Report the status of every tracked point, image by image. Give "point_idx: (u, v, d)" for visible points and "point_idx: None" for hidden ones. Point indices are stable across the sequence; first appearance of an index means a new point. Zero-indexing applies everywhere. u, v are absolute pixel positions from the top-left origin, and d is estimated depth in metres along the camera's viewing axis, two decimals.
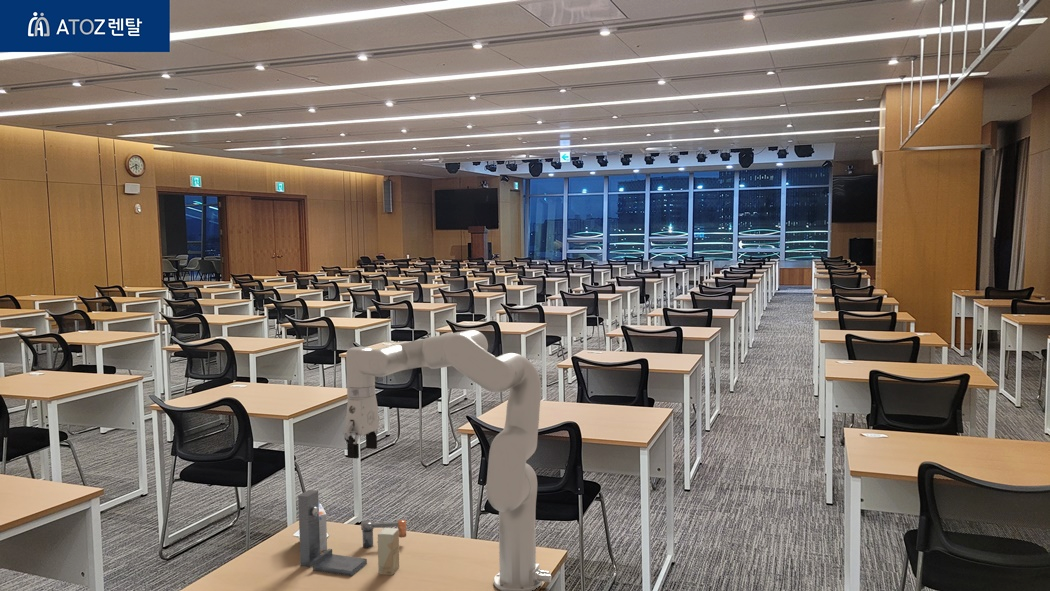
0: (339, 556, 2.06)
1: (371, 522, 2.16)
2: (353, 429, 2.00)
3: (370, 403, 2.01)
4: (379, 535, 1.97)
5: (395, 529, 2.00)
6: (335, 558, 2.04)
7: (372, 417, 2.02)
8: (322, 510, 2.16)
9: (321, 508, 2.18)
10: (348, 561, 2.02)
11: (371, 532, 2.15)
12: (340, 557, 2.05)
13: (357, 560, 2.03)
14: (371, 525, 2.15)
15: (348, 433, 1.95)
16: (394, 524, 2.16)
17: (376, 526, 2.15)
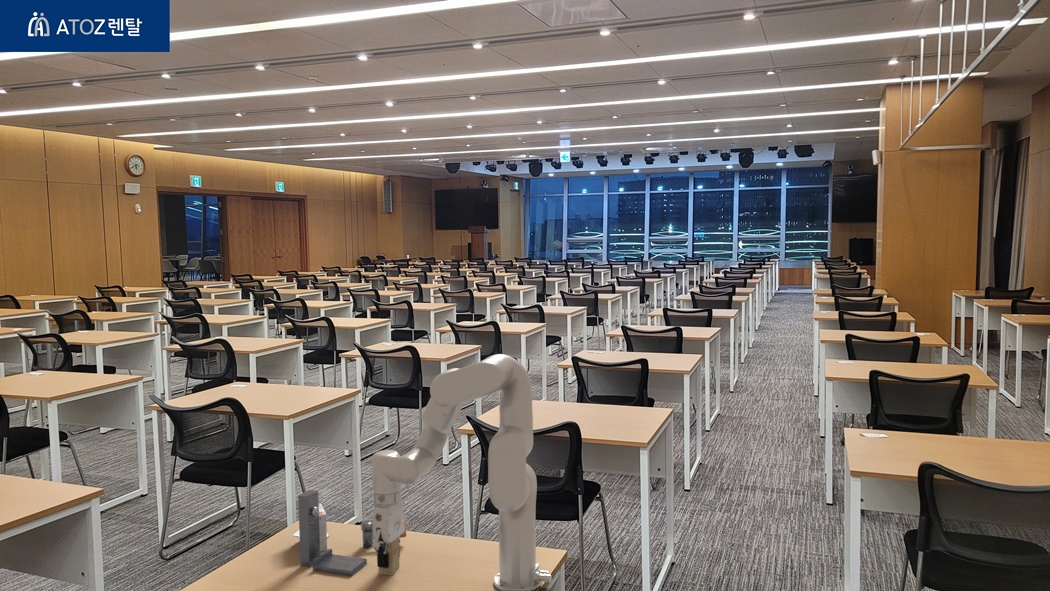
0: (339, 556, 2.06)
1: (371, 522, 2.16)
2: (380, 537, 1.96)
3: (396, 509, 1.97)
4: None
5: None
6: (335, 558, 2.04)
7: (398, 522, 1.99)
8: (322, 510, 2.16)
9: (321, 508, 2.18)
10: (348, 561, 2.02)
11: (371, 532, 2.15)
12: (340, 557, 2.05)
13: (357, 560, 2.03)
14: (371, 525, 2.15)
15: (378, 546, 1.92)
16: None
17: None
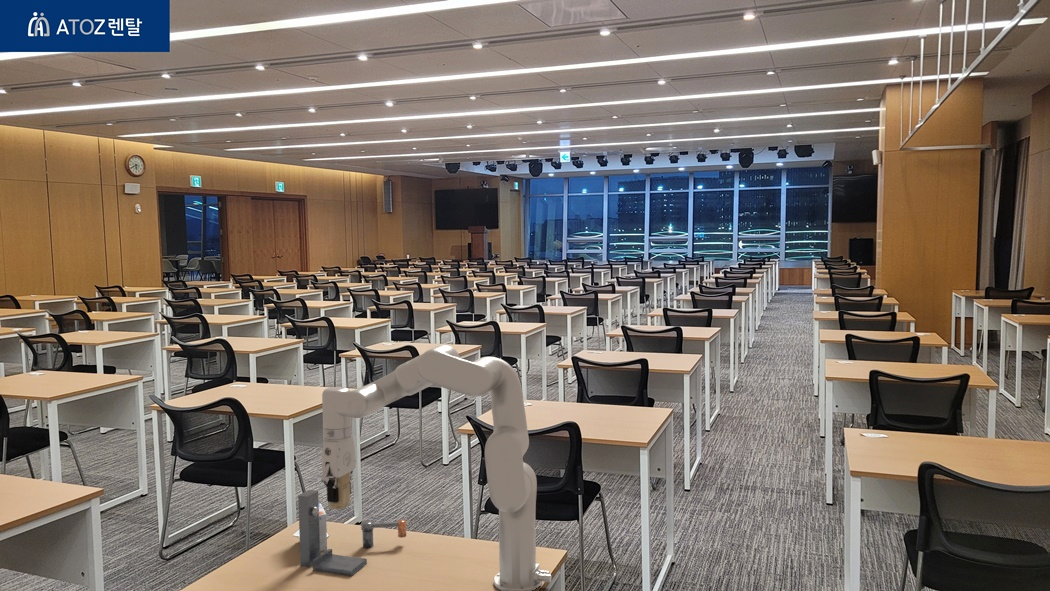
0: (339, 556, 2.06)
1: (371, 522, 2.16)
2: (330, 472, 1.98)
3: (346, 444, 1.99)
4: None
5: None
6: (335, 558, 2.04)
7: (349, 458, 2.00)
8: (322, 510, 2.16)
9: (321, 508, 2.18)
10: (348, 561, 2.02)
11: (371, 532, 2.15)
12: (340, 557, 2.05)
13: (357, 560, 2.03)
14: (371, 525, 2.15)
15: (326, 480, 1.94)
16: (394, 524, 2.16)
17: (376, 526, 2.15)
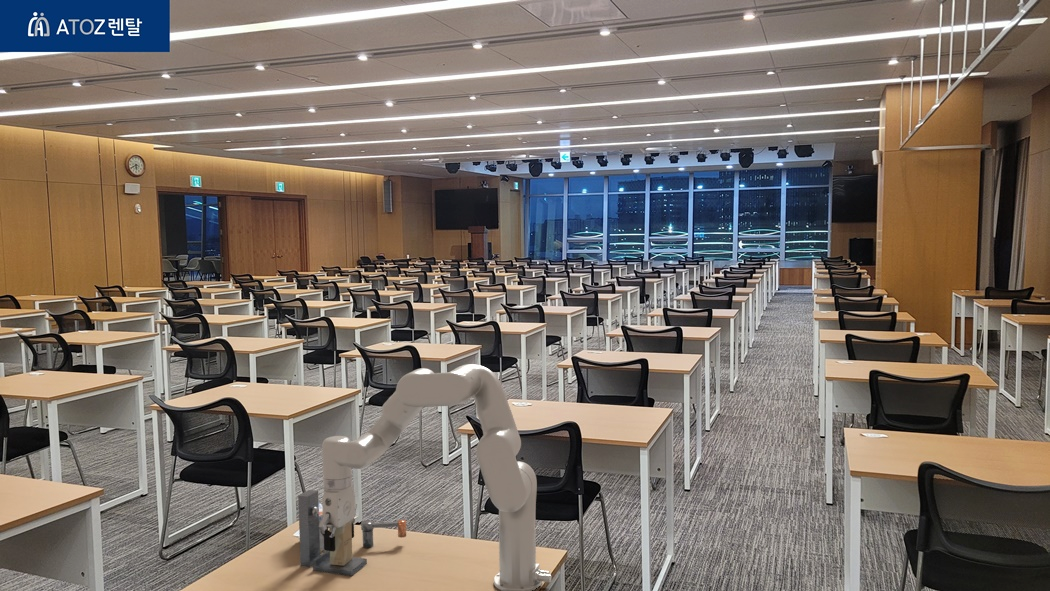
0: None
1: (371, 522, 2.16)
2: (329, 521, 1.98)
3: (346, 494, 2.00)
4: None
5: None
6: None
7: (349, 507, 2.01)
8: (322, 510, 2.16)
9: (321, 508, 2.18)
10: None
11: (371, 532, 2.15)
12: None
13: (357, 560, 2.03)
14: (371, 525, 2.15)
15: (324, 527, 1.93)
16: (394, 524, 2.16)
17: (376, 526, 2.15)
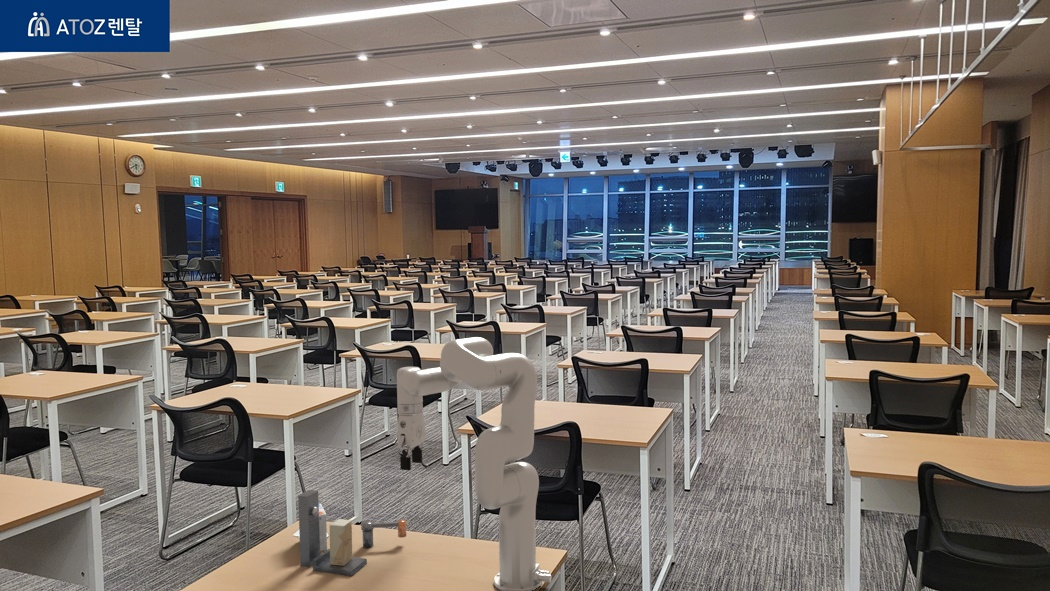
0: None
1: (371, 522, 2.16)
2: (404, 443, 2.19)
3: (418, 418, 2.21)
4: (331, 526, 2.00)
5: (348, 521, 2.03)
6: None
7: (420, 431, 2.22)
8: (322, 510, 2.16)
9: (321, 508, 2.18)
10: None
11: (371, 532, 2.15)
12: None
13: (357, 560, 2.03)
14: (371, 525, 2.15)
15: (401, 448, 2.15)
16: (394, 524, 2.16)
17: (376, 526, 2.15)
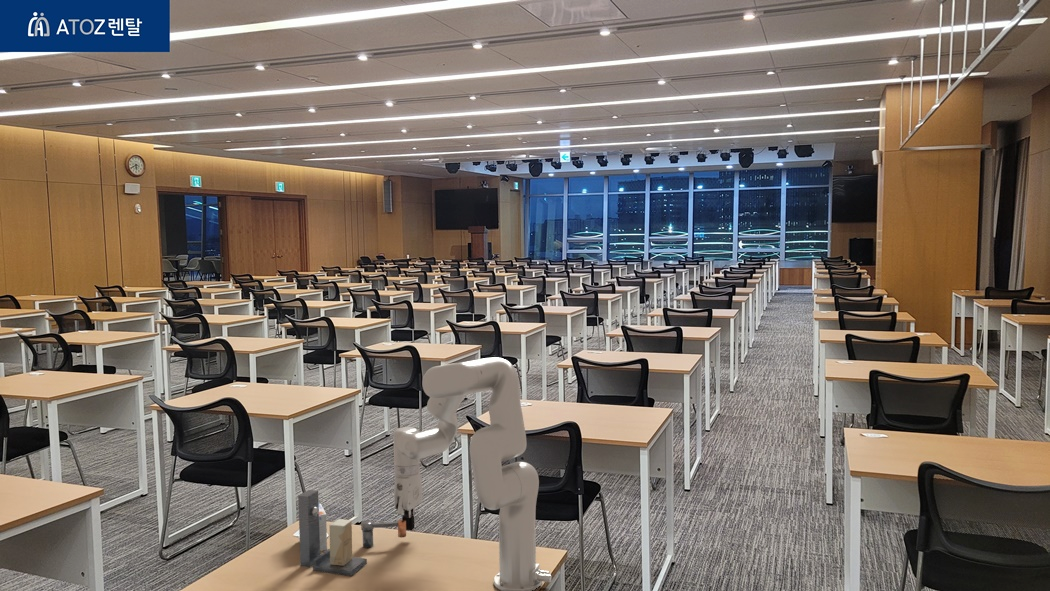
0: None
1: (371, 522, 2.16)
2: None
3: (415, 480, 2.19)
4: (331, 526, 2.00)
5: (348, 521, 2.03)
6: None
7: (417, 492, 2.20)
8: (322, 510, 2.16)
9: (321, 508, 2.18)
10: None
11: (371, 532, 2.15)
12: None
13: (357, 560, 2.03)
14: (371, 525, 2.15)
15: (402, 513, 2.16)
16: (394, 524, 2.16)
17: (376, 526, 2.15)
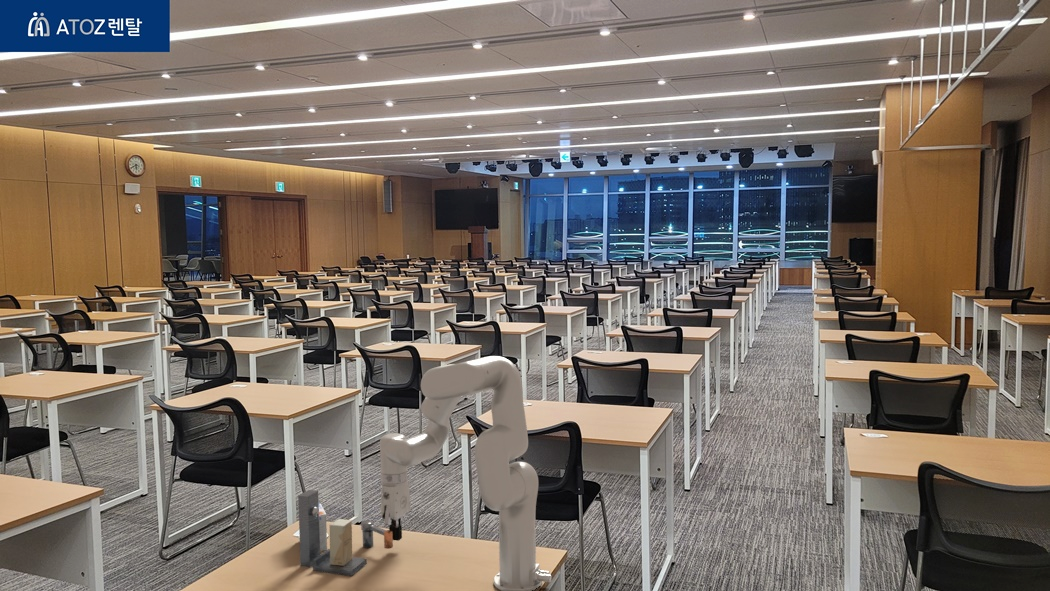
0: None
1: (369, 523, 2.15)
2: None
3: (403, 488, 2.11)
4: (331, 526, 2.00)
5: (348, 521, 2.03)
6: None
7: (405, 501, 2.12)
8: (322, 510, 2.16)
9: (321, 508, 2.18)
10: None
11: (371, 532, 2.15)
12: None
13: (357, 560, 2.03)
14: (366, 526, 2.14)
15: (389, 523, 2.08)
16: (382, 532, 2.10)
17: (371, 529, 2.14)
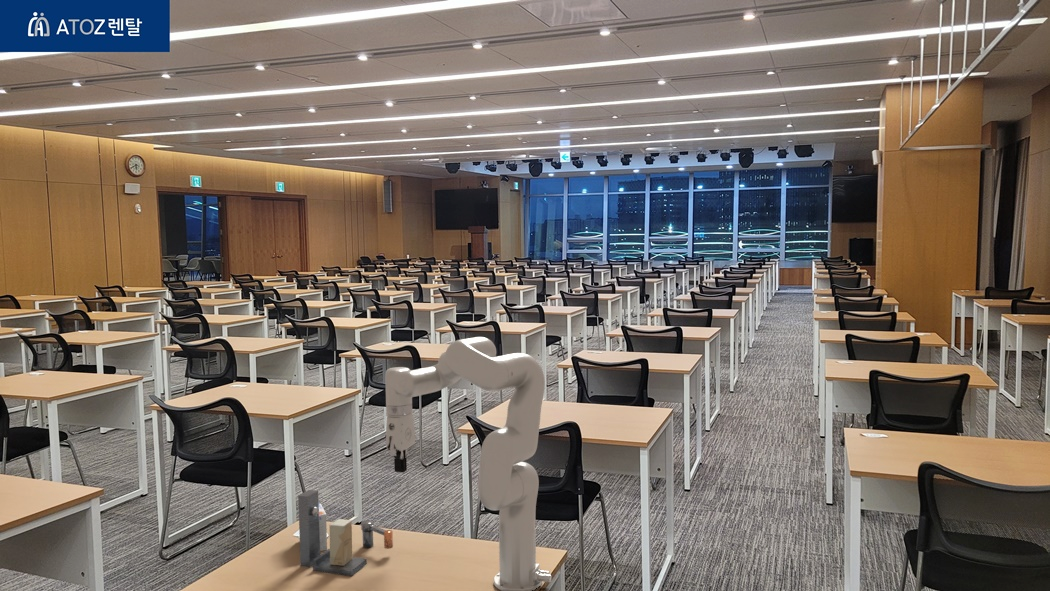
0: None
1: (369, 523, 2.15)
2: None
3: (408, 420, 2.14)
4: (331, 526, 2.00)
5: (348, 521, 2.03)
6: None
7: (409, 433, 2.15)
8: (322, 510, 2.16)
9: (321, 508, 2.18)
10: None
11: (371, 532, 2.15)
12: None
13: (357, 560, 2.03)
14: (366, 526, 2.14)
15: (395, 454, 2.11)
16: (382, 532, 2.10)
17: (371, 529, 2.14)
